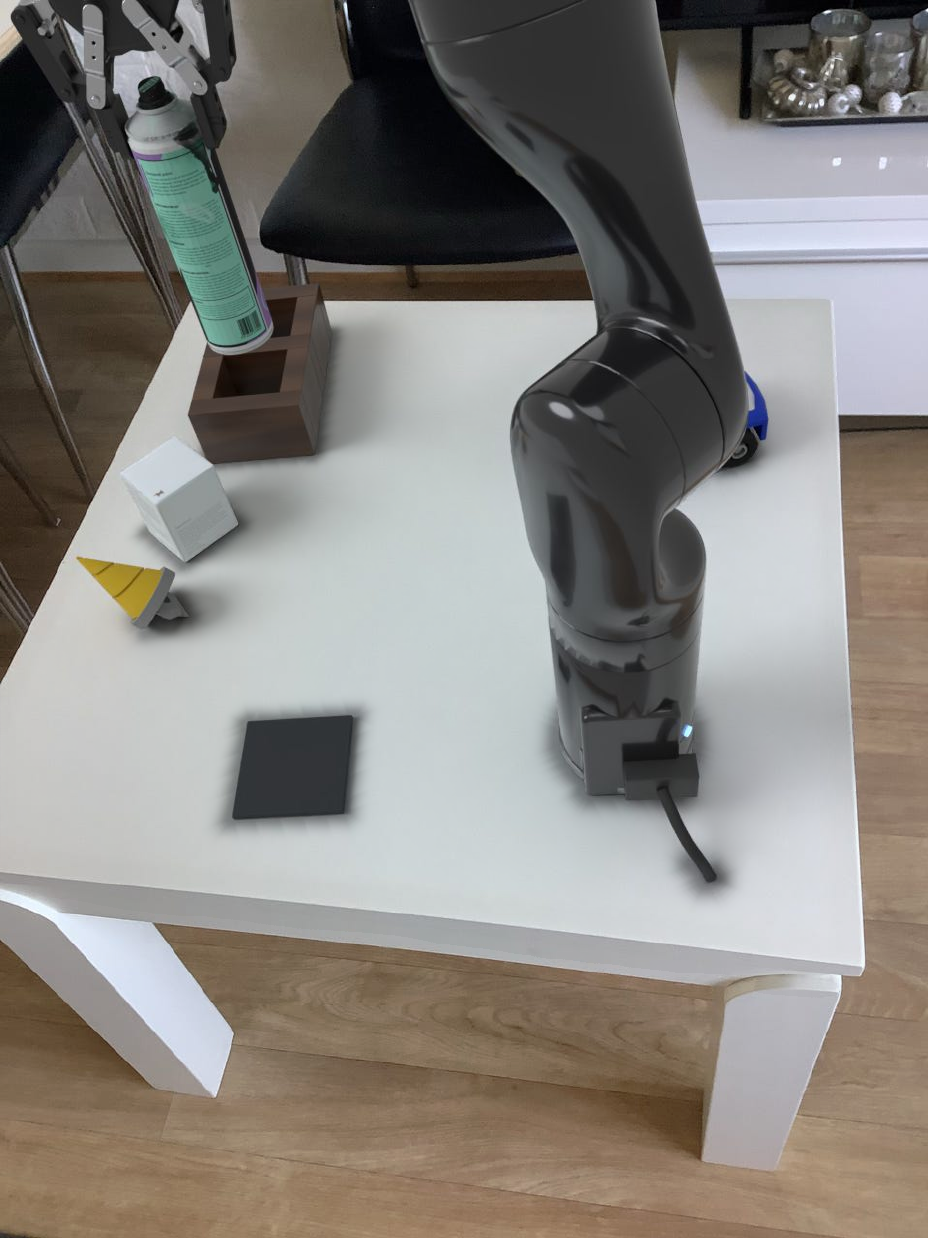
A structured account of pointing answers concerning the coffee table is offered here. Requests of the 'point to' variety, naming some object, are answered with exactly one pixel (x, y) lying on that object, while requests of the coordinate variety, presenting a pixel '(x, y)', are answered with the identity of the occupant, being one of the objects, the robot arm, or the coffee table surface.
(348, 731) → the tool mat
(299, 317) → the can holder
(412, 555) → the coffee table surface
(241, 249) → the spray can
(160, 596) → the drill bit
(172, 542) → the product box
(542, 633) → the coffee table surface
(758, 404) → the toy car
